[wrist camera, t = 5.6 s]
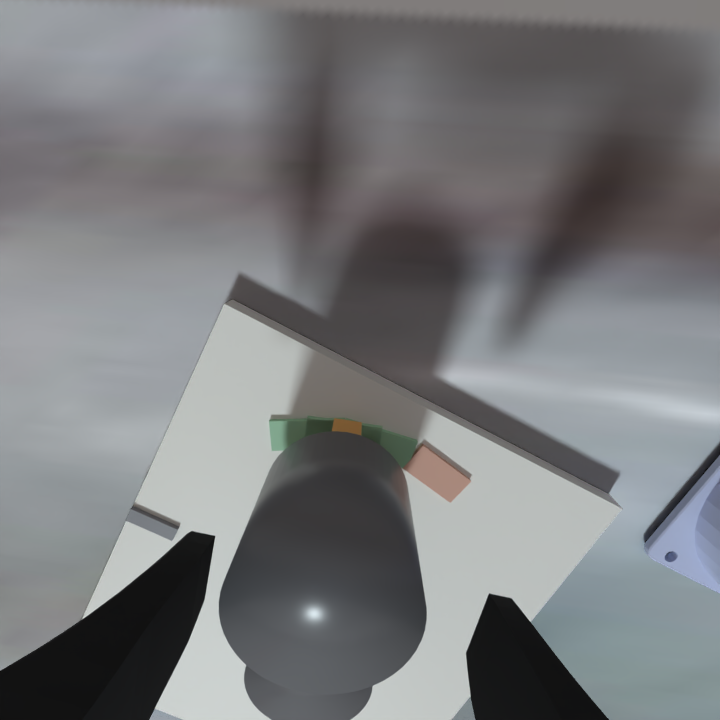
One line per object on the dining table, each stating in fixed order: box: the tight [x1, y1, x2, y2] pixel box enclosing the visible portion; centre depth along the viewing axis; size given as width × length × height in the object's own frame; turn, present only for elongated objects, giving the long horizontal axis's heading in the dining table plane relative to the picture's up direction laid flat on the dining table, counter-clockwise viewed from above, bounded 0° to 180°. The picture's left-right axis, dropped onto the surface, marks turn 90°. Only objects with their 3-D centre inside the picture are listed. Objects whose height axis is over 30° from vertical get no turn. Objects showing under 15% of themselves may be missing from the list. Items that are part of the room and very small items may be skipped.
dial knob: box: [219, 418, 427, 720], centre depth 15 cm, size 11×5×6 cm, turn 171°
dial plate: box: [82, 300, 622, 720], centre depth 19 cm, size 17×19×1 cm
